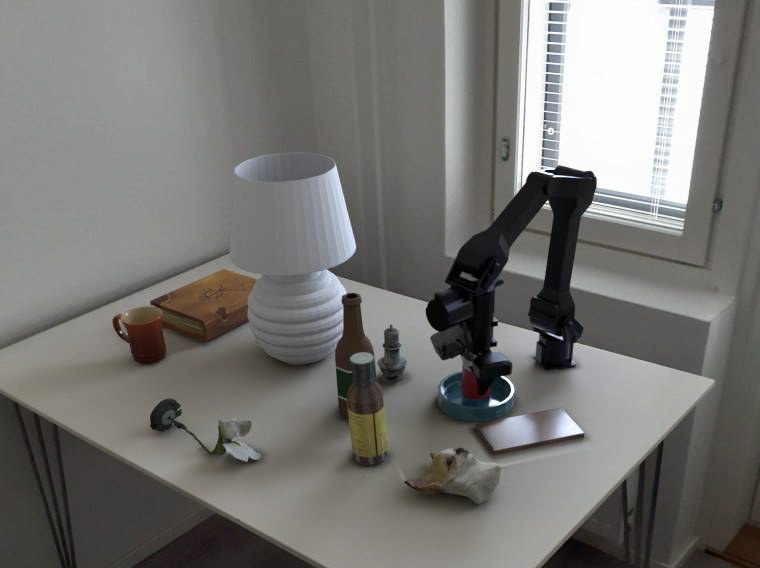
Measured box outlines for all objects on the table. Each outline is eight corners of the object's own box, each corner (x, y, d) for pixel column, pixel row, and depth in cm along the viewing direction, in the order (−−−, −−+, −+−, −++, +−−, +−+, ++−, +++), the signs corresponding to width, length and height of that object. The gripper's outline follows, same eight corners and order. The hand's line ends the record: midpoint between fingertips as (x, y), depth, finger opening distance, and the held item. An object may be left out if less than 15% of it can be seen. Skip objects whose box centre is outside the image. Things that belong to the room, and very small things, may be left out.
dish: (495, 378, 171) (496, 364, 170) (525, 415, 160) (526, 400, 158) (427, 391, 169) (427, 377, 167) (453, 429, 157) (453, 414, 155)
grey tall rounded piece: (405, 386, 171) (403, 331, 164) (375, 384, 172) (373, 330, 166) (409, 371, 176) (408, 318, 169) (381, 369, 177) (378, 317, 170)
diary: (208, 345, 190) (204, 321, 187) (154, 323, 201) (149, 301, 197) (280, 307, 205) (278, 285, 202) (226, 289, 215) (223, 268, 212)
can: (483, 392, 167) (484, 346, 161) (493, 406, 162) (495, 359, 157) (457, 397, 166) (458, 351, 160) (467, 411, 161) (468, 364, 156)
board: (560, 412, 160) (561, 407, 159) (584, 438, 152) (584, 432, 152) (474, 429, 157) (475, 423, 156) (494, 456, 149) (494, 450, 148)
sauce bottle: (379, 443, 154) (375, 344, 144) (393, 461, 149) (389, 360, 139) (345, 452, 152) (338, 352, 142) (358, 471, 147) (352, 369, 137)
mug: (178, 351, 188) (170, 308, 183) (156, 370, 181) (147, 326, 176) (132, 344, 192) (123, 302, 187) (109, 362, 185) (99, 319, 180)
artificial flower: (183, 422, 166) (191, 375, 162) (263, 476, 154) (273, 427, 150) (145, 431, 159) (152, 383, 155) (225, 489, 147) (235, 438, 143)
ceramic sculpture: (485, 476, 130) (399, 454, 137) (486, 522, 134) (402, 498, 141) (513, 441, 137) (430, 422, 145) (514, 486, 141) (433, 465, 149)
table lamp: (385, 345, 186) (378, 159, 165) (305, 395, 170) (286, 196, 149) (300, 316, 200) (283, 141, 179) (218, 359, 184) (190, 173, 163)
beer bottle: (383, 403, 166) (379, 288, 153) (371, 425, 159) (365, 307, 147) (345, 398, 168) (338, 284, 155) (331, 419, 162) (322, 302, 149)
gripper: (418, 299, 160) (419, 372, 169) (454, 343, 145) (453, 421, 153) (474, 289, 162) (472, 362, 171) (515, 332, 147) (511, 409, 155)
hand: (475, 387), depth 162 cm, fingers closed on can, 5 cm apart
